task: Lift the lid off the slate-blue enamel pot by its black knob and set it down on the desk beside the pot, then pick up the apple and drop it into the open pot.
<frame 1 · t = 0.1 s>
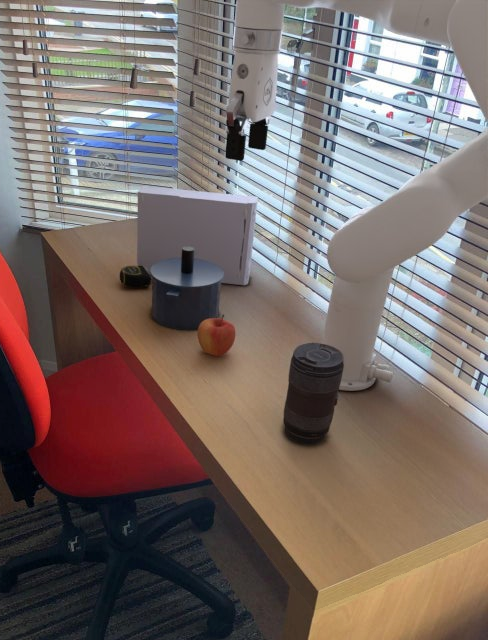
hand: (245, 153, 112), 37 cm above the table, tool pointing down, fingers open, 9 cm apart
game console: (193, 276, 160), on the table
camera lens: (303, 433, 108), on the table
lid: (186, 273, 136), point 9 cm above the table, touching pot
apple: (214, 354, 128), on the table
pot: (184, 314, 142), on the table
tape measure: (136, 284, 154), on the table
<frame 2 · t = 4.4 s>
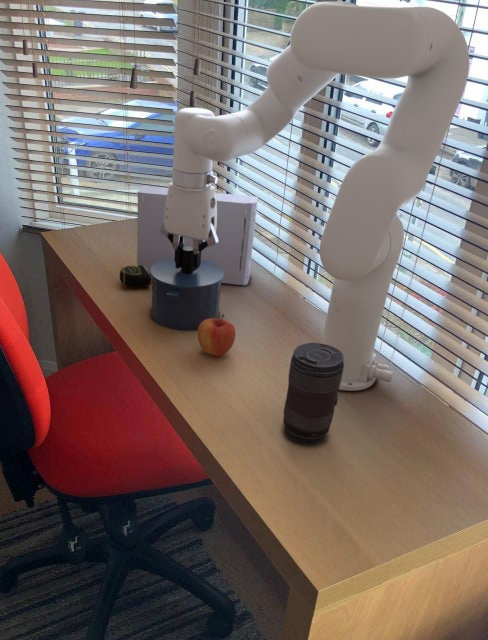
hand: (187, 267, 136), 11 cm above the table, tool pointing down, fingers closed on lid, 2 cm apart
lid: (186, 273, 136), point 10 cm above the table, touching gripper, pot
everything else where it was.
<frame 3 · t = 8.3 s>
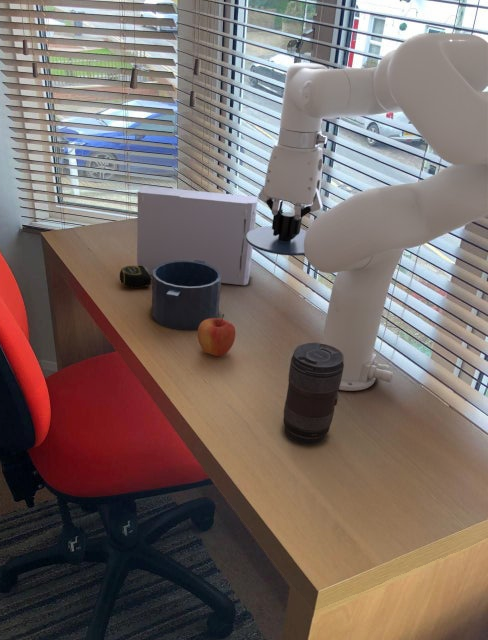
hand: (285, 234, 130), 20 cm above the table, tool pointing down, fingers closed on lid, 2 cm apart
lid: (284, 241, 131), point 18 cm above the table, touching gripper
everything else where it was.
when the fingers open (2 cm above the table, at t = 12.3 s): lid stays where it is, point 1 cm above the table.
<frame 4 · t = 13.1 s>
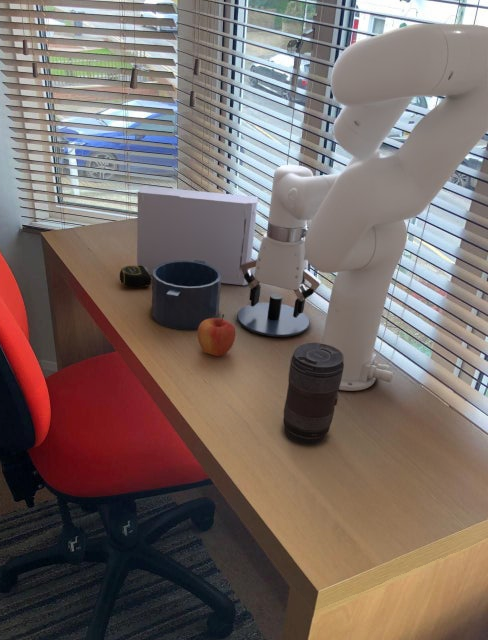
hand: (275, 309, 139), 3 cm above the table, tool pointing down, fingers open, 9 cm apart
lid: (273, 319, 140), point 1 cm above the table
everything else where it was.
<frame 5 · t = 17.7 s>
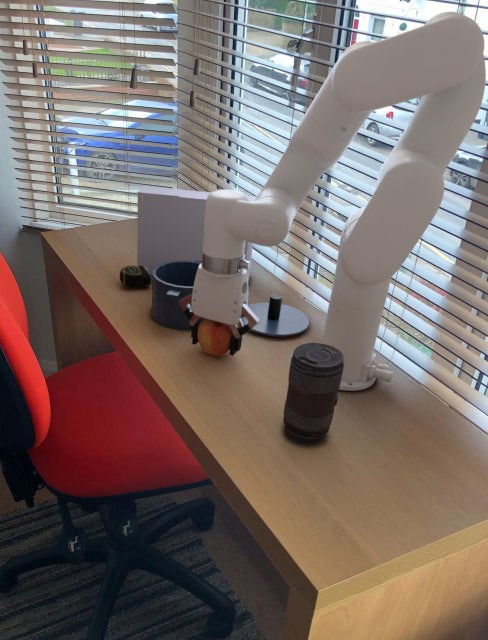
hand: (215, 346, 127), 1 cm above the table, tool pointing down, fingers closed on apple, 7 cm apart
apple: (214, 354, 128), on the table, touching gripper
everything else where it was.
when the fingers open (9 cm above the table, at t = 25.5 s): apple drops 7 cm, resting on pot.
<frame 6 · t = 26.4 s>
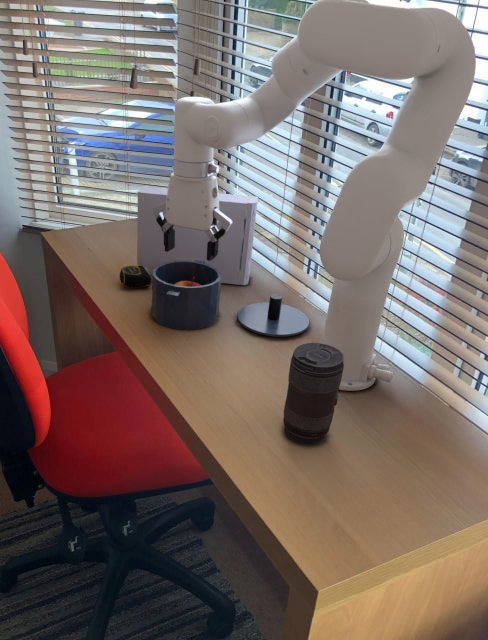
hand: (190, 254, 134), 14 cm above the table, tool pointing down, fingers open, 9 cm apart
apple: (186, 314, 141), resting on pot
everything else where it was.
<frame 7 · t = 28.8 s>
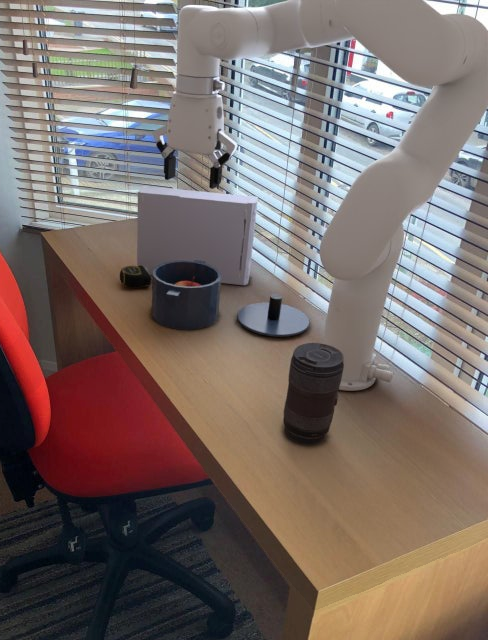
hand: (191, 182, 126), 28 cm above the table, tool pointing down, fingers open, 9 cm apart
nothing on the table moved.
at the end: lid inside the target area (0.3 cm from its centre), point 0.6 cm above the table; lid tilted 0°; apple inside the target area in the pot (0.6 cm from its centre), point 0.3 cm above the pot's base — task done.
